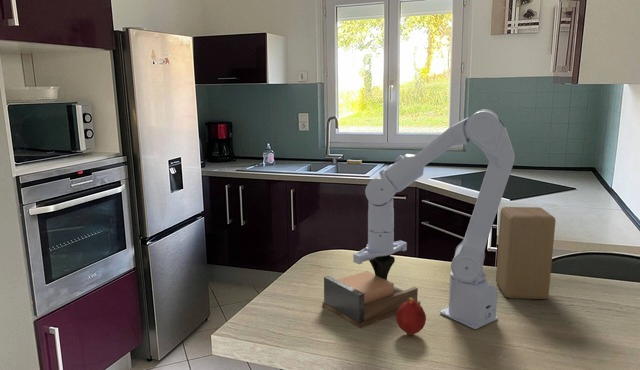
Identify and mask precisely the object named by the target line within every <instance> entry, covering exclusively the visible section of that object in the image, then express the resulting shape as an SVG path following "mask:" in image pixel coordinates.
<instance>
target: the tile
mask: <svg viewBox="0 0 640 370" xmlns="http://www.w3.org/2000/svg"><path fill="white" fill-rule="evenodd" d="M374 274H375V273H372V272H369V271H367V270H366V271H362V272H359V273H356V274H353V275H349V276H346V277H342V278H339V279H338V280H339V281H341V282H343V283H344V284H346V285H348V286H350V287H352V288H354V289H356V290H358V291H360V292H362V293H364V304H367V303H369V302H372V301H375V300H378V299H381V298H384V297H387V296H390V295H392V294H393V293H394V286H395V283H394V282H392V281H390V280H388V279H387V280H386V279H383V278H380V277H378V276H376V275H374Z"/></svg>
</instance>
